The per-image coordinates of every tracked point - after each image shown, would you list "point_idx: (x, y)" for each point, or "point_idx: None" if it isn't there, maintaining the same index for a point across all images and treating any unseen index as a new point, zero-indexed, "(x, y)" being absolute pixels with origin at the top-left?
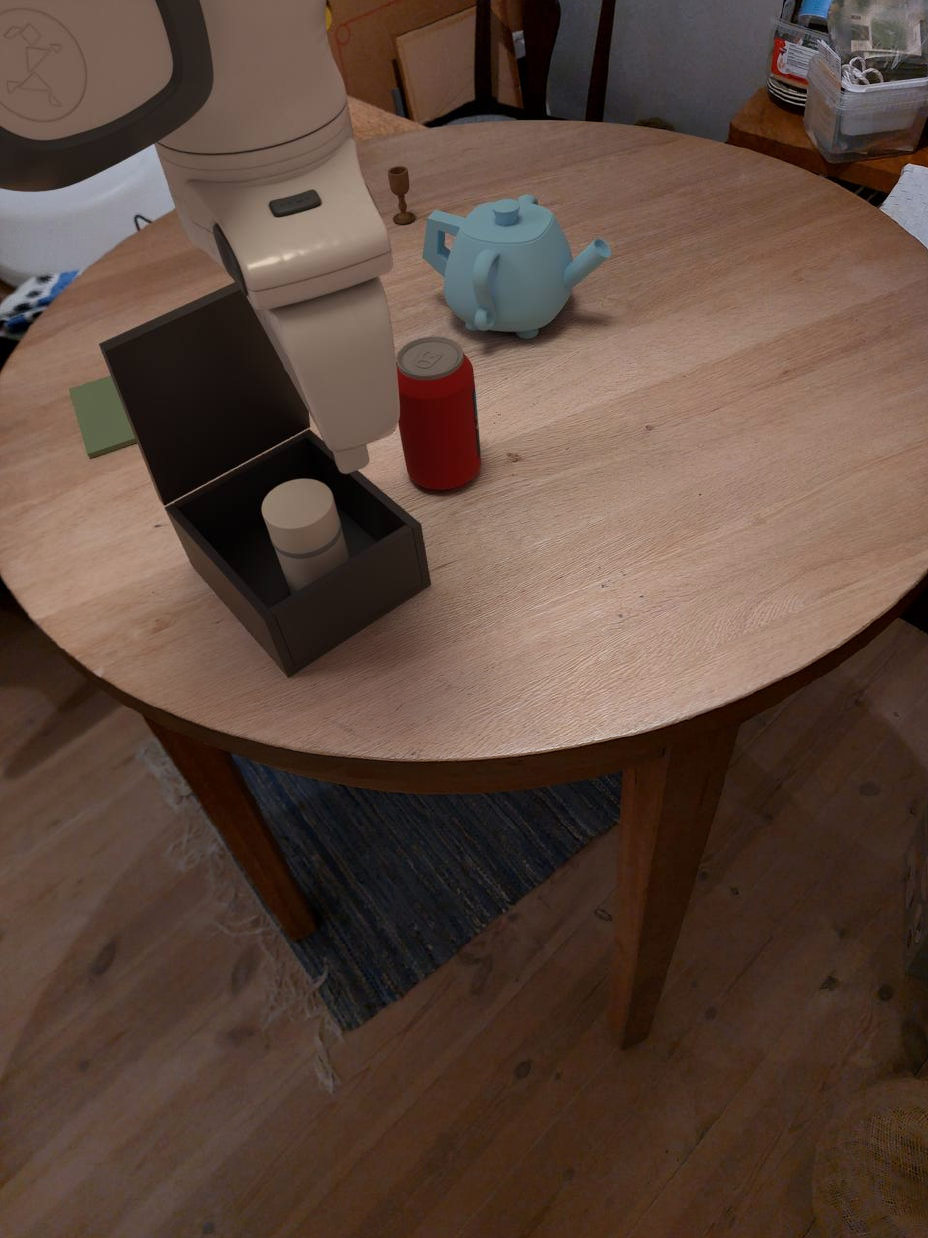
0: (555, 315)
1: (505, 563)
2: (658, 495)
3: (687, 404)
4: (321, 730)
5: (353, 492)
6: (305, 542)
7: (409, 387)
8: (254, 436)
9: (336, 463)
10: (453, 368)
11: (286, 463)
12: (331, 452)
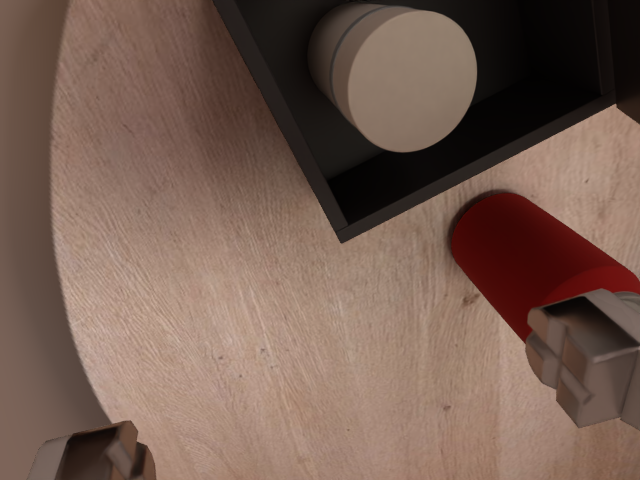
0: None
1: (322, 272)
2: (360, 403)
3: (459, 436)
4: (97, 14)
5: (466, 144)
6: (338, 80)
7: (569, 295)
8: (635, 13)
9: (52, 456)
10: None
11: (576, 46)
12: (95, 455)
